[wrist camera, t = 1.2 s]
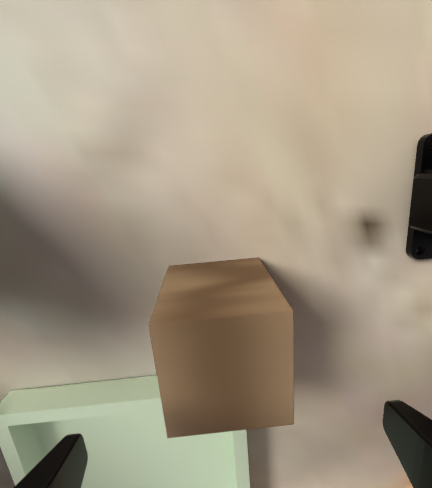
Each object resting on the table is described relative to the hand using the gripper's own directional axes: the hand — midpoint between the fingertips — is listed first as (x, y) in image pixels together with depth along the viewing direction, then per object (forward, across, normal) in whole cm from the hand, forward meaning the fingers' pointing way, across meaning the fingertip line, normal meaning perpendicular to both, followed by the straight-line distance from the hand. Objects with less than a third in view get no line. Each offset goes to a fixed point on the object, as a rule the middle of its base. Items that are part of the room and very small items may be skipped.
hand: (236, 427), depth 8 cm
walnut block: (+8, 0, 0) cm, 8 cm away
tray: (+8, +6, +12) cm, 15 cm away
